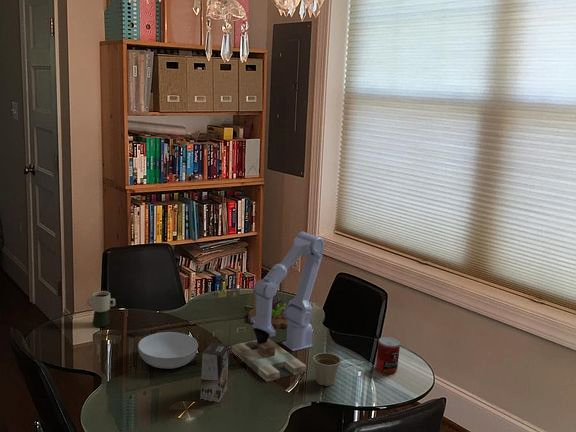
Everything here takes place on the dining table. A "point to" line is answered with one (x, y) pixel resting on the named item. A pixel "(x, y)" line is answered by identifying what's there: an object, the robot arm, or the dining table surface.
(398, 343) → the canned food
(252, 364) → the cream slotted board
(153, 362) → the serving bowl
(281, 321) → the plant
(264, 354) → the walnut block
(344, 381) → the dining table surface
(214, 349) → the coffee box
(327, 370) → the flower pot
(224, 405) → the dining table surface
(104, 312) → the character mug
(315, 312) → the dining table surface
